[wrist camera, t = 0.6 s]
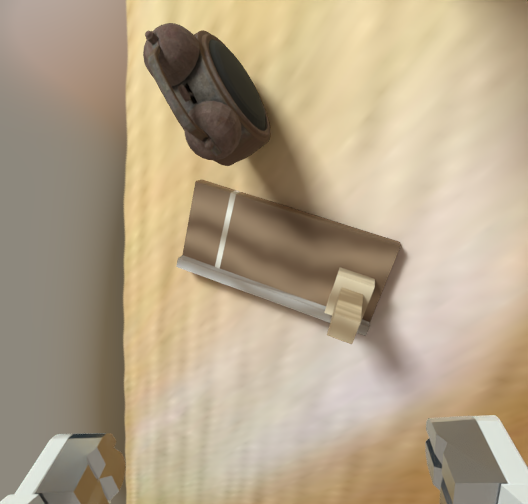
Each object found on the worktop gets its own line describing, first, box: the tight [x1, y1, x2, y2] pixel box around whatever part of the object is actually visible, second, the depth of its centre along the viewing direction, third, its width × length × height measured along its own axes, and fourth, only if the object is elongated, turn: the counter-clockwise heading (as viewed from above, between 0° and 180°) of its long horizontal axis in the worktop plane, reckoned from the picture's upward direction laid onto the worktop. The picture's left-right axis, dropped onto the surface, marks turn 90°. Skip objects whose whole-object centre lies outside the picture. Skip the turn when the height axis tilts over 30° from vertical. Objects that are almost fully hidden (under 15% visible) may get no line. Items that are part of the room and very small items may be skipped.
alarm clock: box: [143, 23, 270, 166], centre depth 43 cm, size 15×7×20 cm, turn 29°
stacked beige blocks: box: [324, 267, 375, 344], centre depth 49 cm, size 6×5×11 cm
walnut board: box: [177, 180, 400, 336], centre depth 56 cm, size 14×30×4 cm, turn 75°
